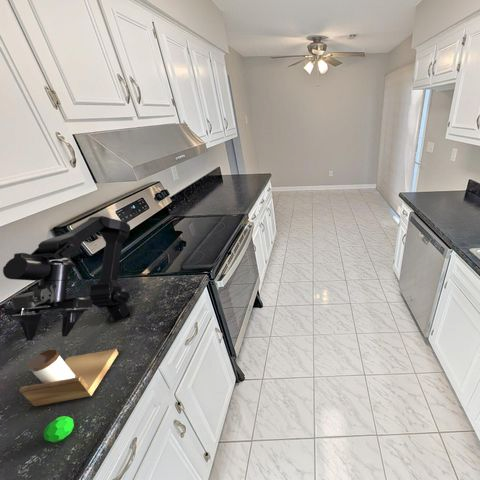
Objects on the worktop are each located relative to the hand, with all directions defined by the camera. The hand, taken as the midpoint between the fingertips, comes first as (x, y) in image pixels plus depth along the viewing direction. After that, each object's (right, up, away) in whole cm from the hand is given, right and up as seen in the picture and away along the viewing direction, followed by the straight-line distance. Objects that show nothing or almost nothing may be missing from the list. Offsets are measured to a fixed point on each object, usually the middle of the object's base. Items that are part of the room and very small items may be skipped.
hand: (47, 338), depth 70 cm
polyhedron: (+14, -20, -9) cm, 26 cm away
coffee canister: (+3, -13, +2) cm, 13 cm away
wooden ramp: (+5, -13, +5) cm, 15 cm away
